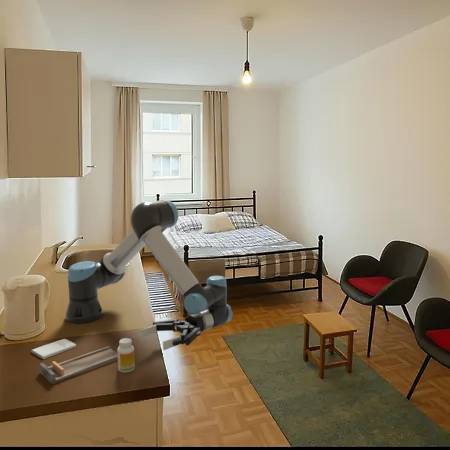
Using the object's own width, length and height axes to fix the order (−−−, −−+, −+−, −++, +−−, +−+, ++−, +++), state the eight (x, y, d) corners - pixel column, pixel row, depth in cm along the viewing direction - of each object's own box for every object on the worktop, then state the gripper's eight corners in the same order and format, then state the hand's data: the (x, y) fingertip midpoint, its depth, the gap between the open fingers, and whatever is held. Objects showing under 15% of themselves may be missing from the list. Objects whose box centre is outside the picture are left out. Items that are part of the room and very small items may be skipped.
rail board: (40, 372, 128) (39, 363, 128) (108, 348, 145) (108, 340, 145) (52, 384, 121) (51, 375, 121) (122, 358, 138) (122, 349, 138)
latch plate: (52, 368, 130) (52, 361, 129) (54, 367, 130) (54, 360, 130) (61, 376, 125) (61, 369, 124) (64, 375, 125) (63, 368, 125)
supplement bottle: (138, 368, 131) (137, 340, 130) (124, 374, 127) (123, 345, 126) (128, 363, 135) (127, 335, 133) (114, 369, 131) (113, 340, 129)
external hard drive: (31, 353, 142) (64, 341, 152) (43, 361, 137) (76, 348, 147) (31, 349, 142) (64, 337, 152) (43, 356, 137) (76, 344, 146)
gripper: (221, 342, 144) (174, 362, 129) (178, 323, 161) (132, 339, 146) (221, 322, 143) (174, 340, 128) (177, 305, 160) (131, 319, 145)
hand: (151, 339), depth 137 cm, fingers open, 13 cm apart
